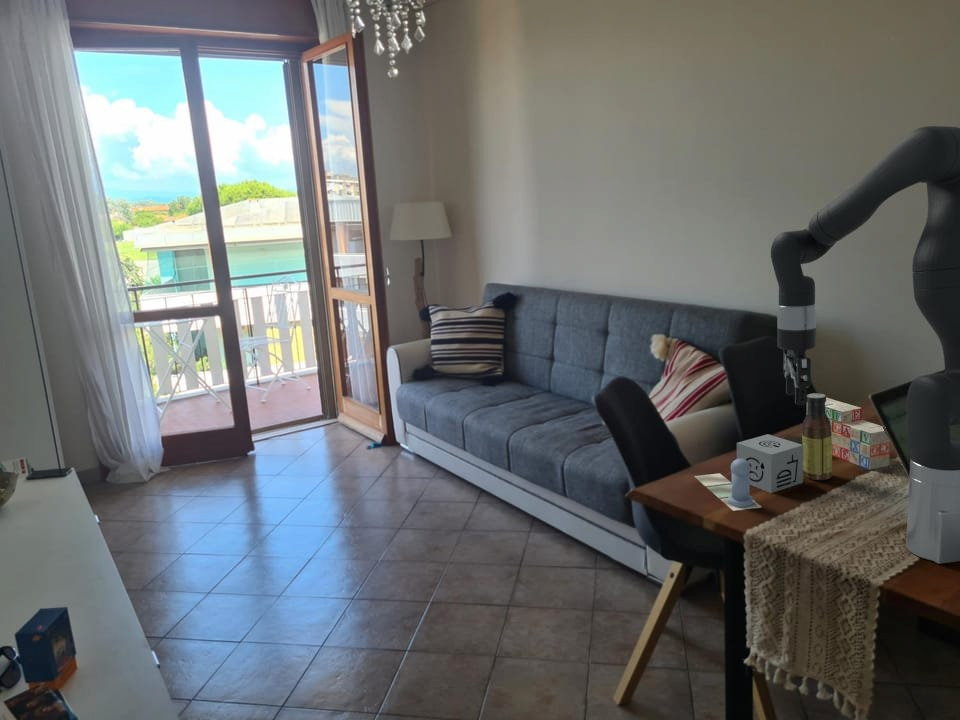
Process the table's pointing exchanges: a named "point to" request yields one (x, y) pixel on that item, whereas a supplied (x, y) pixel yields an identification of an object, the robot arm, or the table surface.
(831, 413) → the stack of blocks
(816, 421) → the sauce bottle
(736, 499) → the pawn
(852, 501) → the table surface
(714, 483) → the board
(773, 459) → the icon cube
